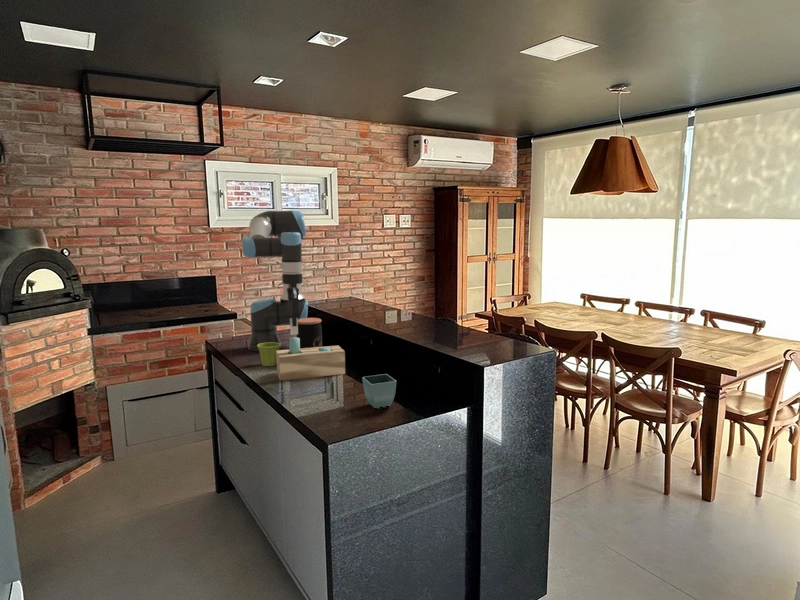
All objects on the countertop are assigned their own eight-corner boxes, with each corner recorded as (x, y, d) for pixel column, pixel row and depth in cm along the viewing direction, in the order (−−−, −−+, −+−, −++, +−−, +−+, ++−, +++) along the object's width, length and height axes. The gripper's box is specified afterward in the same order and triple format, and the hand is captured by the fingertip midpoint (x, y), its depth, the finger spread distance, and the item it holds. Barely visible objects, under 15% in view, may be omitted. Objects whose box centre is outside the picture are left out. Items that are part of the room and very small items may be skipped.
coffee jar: (317, 364, 214) (316, 322, 212) (293, 363, 216) (292, 321, 214) (326, 358, 225) (325, 318, 222) (303, 357, 227) (301, 317, 224)
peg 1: (289, 357, 200) (288, 337, 199) (299, 356, 201) (298, 337, 200) (290, 360, 196) (289, 339, 195) (301, 359, 198) (300, 339, 197)
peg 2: (319, 367, 205) (319, 347, 204) (329, 366, 206) (329, 346, 205) (321, 369, 201) (321, 349, 200) (331, 368, 202) (331, 349, 201)
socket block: (277, 372, 203) (276, 350, 201) (338, 366, 211) (338, 345, 210) (280, 380, 192) (279, 357, 191) (345, 373, 201) (344, 351, 200)
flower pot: (371, 412, 159) (371, 384, 158) (361, 403, 167) (361, 376, 166) (397, 408, 162) (397, 380, 161) (386, 399, 170) (386, 373, 169)
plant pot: (272, 360, 221) (271, 341, 220) (285, 364, 215) (284, 344, 214) (253, 365, 214) (252, 345, 213) (267, 369, 208) (266, 348, 207)
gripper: (280, 272, 199) (282, 331, 202) (284, 274, 187) (286, 338, 190) (299, 271, 202) (301, 330, 205) (305, 274, 189) (306, 336, 193)
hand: (294, 334), depth 197 cm, fingers closed
